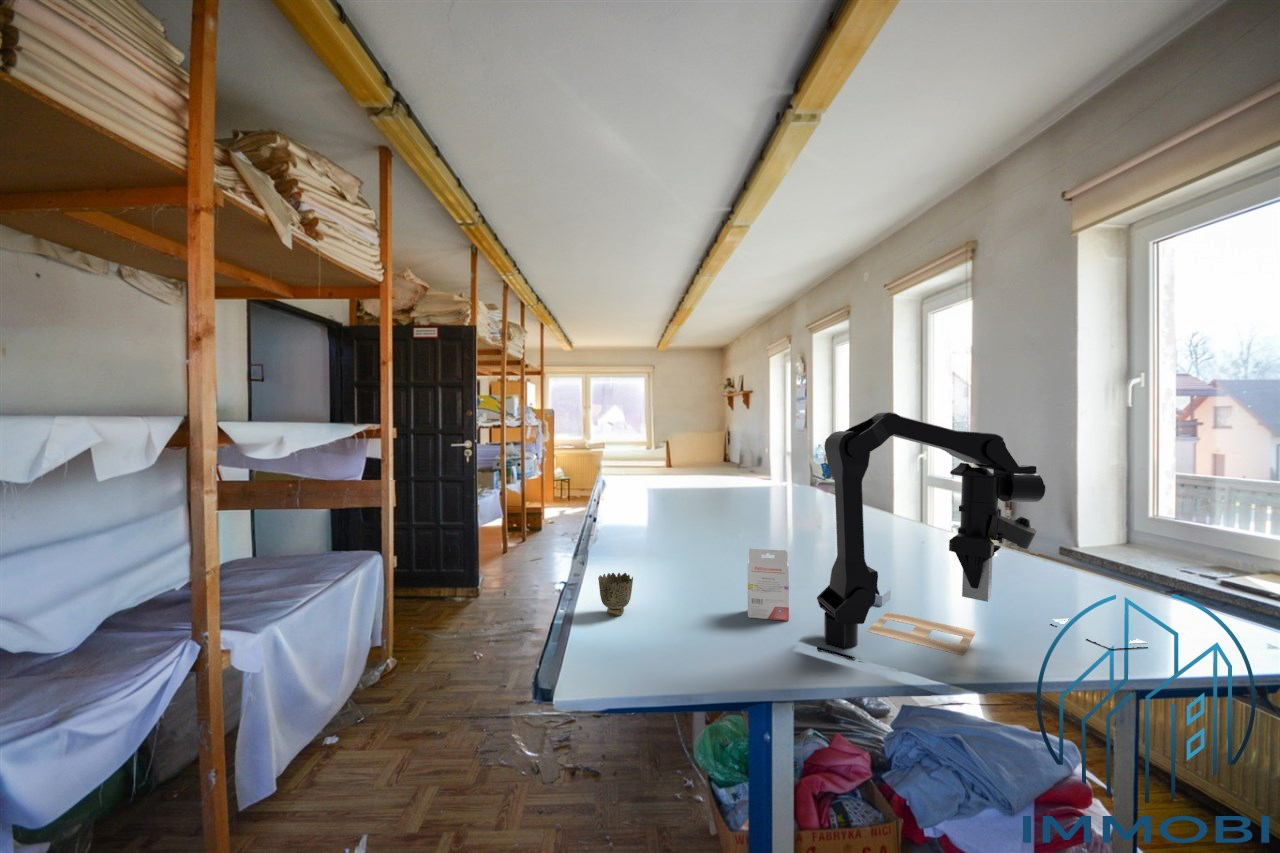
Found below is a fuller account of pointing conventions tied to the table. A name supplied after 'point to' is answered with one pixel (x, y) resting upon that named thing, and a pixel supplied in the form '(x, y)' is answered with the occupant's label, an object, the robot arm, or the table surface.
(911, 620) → the socket board
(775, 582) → the ink cartridge box
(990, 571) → the grey rectangular block
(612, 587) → the cup
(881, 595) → the block
